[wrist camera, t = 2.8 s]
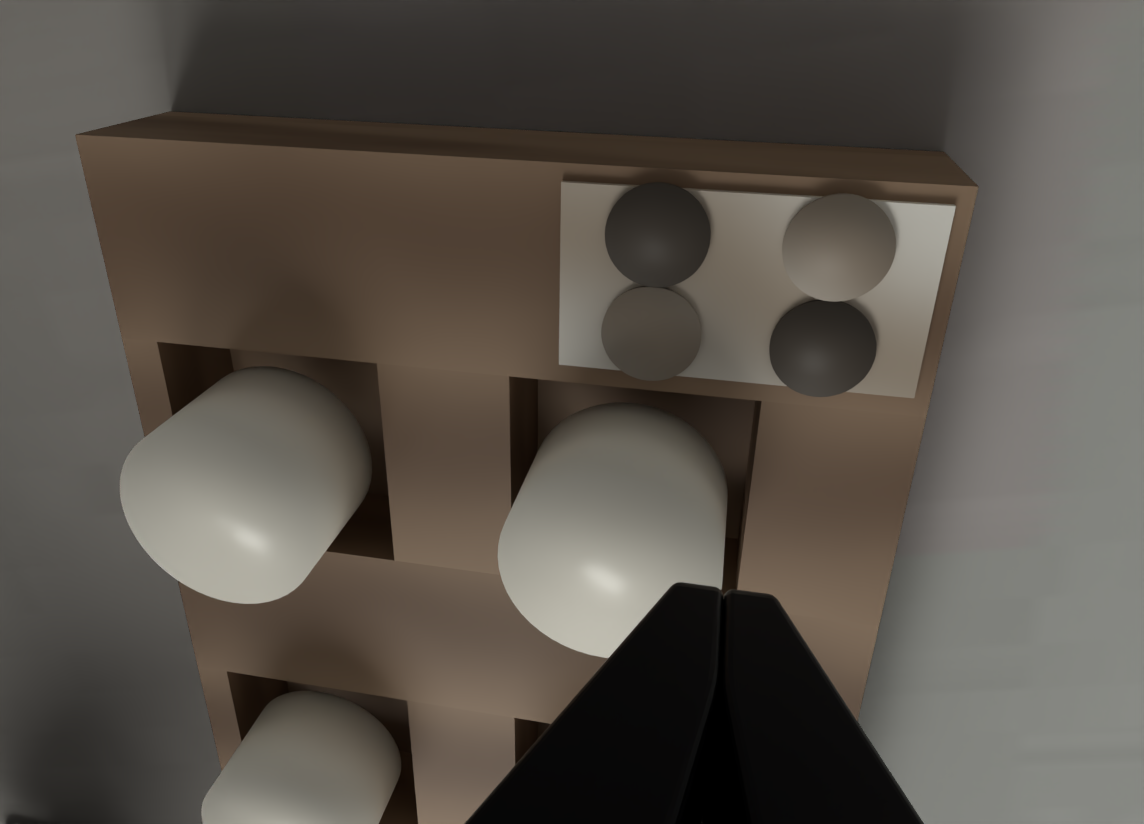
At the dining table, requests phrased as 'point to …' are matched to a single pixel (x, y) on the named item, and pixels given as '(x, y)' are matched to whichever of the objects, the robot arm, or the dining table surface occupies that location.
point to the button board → (530, 380)
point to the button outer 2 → (612, 523)
